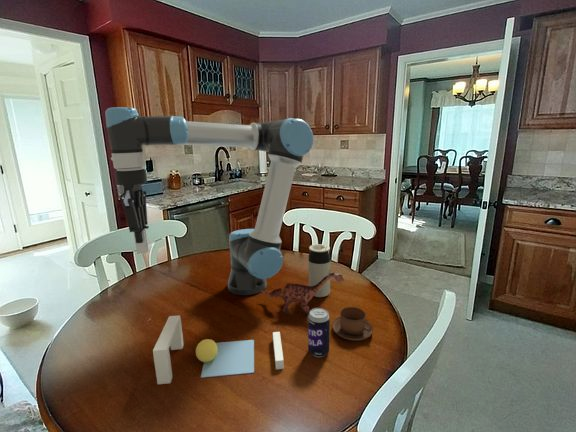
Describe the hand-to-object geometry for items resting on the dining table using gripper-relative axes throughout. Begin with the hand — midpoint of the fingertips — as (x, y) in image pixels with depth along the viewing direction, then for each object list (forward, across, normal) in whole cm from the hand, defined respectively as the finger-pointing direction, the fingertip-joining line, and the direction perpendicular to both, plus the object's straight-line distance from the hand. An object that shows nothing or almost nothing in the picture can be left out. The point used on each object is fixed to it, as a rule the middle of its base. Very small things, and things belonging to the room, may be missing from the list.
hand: (142, 252), depth 89 cm
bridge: (+26, +15, +8) cm, 31 cm away
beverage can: (+27, +16, +47) cm, 57 cm away
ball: (+23, +15, +18) cm, 33 cm away
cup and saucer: (+27, +8, +59) cm, 66 cm away
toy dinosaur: (+27, -6, +45) cm, 53 cm away
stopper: (+26, +15, +36) cm, 47 cm away
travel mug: (+27, -17, +55) cm, 63 cm away
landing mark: (+26, +15, +23) cm, 38 cm away
